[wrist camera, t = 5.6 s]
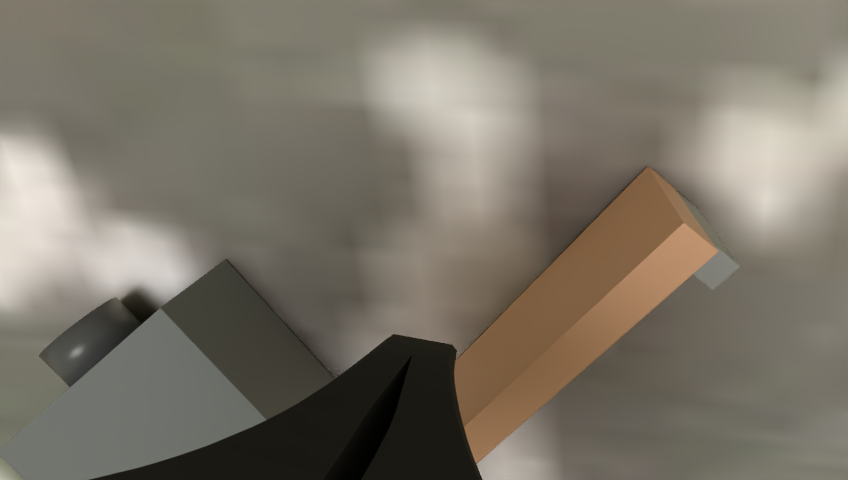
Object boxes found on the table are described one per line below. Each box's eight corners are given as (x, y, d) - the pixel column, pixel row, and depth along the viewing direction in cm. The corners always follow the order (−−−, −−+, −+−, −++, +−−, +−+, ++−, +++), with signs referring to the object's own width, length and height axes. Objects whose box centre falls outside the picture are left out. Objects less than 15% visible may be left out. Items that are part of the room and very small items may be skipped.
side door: (419, 460, 23) (385, 576, 18) (383, 433, 23) (339, 543, 18) (693, 203, 17) (746, 273, 13) (648, 166, 17) (683, 222, 13)
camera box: (396, 446, 23) (363, 538, 19) (227, 543, 28) (170, 635, 23) (196, 227, 22) (112, 276, 18) (47, 365, 26) (-48, 431, 22)
